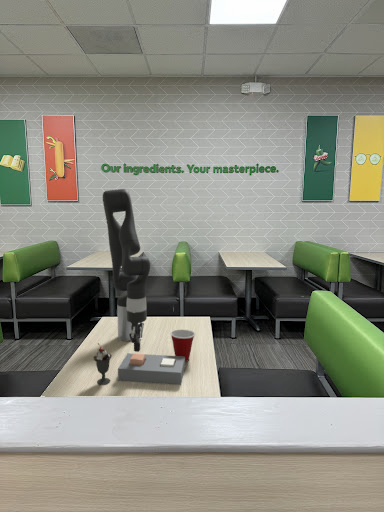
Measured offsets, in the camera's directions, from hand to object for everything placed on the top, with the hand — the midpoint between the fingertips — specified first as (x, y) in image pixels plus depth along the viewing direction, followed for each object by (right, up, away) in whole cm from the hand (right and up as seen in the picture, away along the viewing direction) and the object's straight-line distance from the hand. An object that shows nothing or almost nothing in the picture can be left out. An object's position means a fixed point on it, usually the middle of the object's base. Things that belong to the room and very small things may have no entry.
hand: (137, 350), depth 132 cm
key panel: (+6, -10, +1) cm, 11 cm away
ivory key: (+12, -8, 0) cm, 14 cm away
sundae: (-12, -11, -5) cm, 17 cm away
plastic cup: (+17, -8, +15) cm, 24 cm away
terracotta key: (0, -6, +1) cm, 7 cm away
